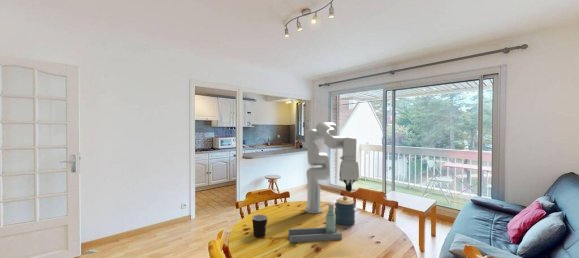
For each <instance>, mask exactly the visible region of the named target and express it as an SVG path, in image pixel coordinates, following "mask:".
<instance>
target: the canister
mask: <svg viewBox="0 0 579 258" xmlns="http://www.w3.org/2000/svg"><path fill="white" fill-rule="evenodd" d="M354 203H355V201H354V200H353V199H351V198H349V197H348V196H347V195H343V196H342V197H339V198H338V199H336V201H335V203H334V206H335V208H334V214H335V215H336V218H335V224H336V225H337V224H338V225H341V226H346V227H347V226H353V225H355V223H356V219H355V218H356V217H355V216H356V215H355V214H356V210H355V207H356V204H354Z"/></svg>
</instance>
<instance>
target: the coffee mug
mask: <svg viewBox="0 0 579 258" xmlns="http://www.w3.org/2000/svg"><path fill="white" fill-rule="evenodd" d="M251 219H252V231H253V237H254V238H257V239H261V238H264V237H266V232H267V224H268V216H267V215H266V214H255V215H253V216H252V217H251Z"/></svg>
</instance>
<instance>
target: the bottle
mask: <svg viewBox="0 0 579 258" xmlns="http://www.w3.org/2000/svg"><path fill="white" fill-rule="evenodd" d="M334 206H335V203H333V202H329V203H328V210H327V212H326V214H325V227H326V234H328V233H335V227H336V222H335V218H336V215H335V210H334Z"/></svg>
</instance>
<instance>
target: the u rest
mask: <svg viewBox="0 0 579 258" xmlns="http://www.w3.org/2000/svg"><path fill="white" fill-rule="evenodd" d="M288 239H289V241H290V244H291V245H296V244H297V245H298V243H299V242H300V243H301V242H317V241H318V242H319V241H332V240H333V241H334V240H342V239H343V233H342V232H337V226H335V233H328V234H326V226H325V227H323V226H322V227H308V228H307V227H304V228H303V227H302V228H291V229H290V228H289V229H288Z"/></svg>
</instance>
